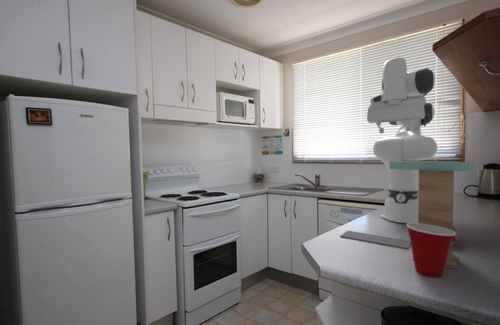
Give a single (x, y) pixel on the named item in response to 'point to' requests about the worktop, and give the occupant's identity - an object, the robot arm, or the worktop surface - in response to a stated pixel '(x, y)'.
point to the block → (432, 166)
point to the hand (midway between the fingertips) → (394, 132)
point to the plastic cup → (430, 247)
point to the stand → (437, 204)
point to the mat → (377, 239)
